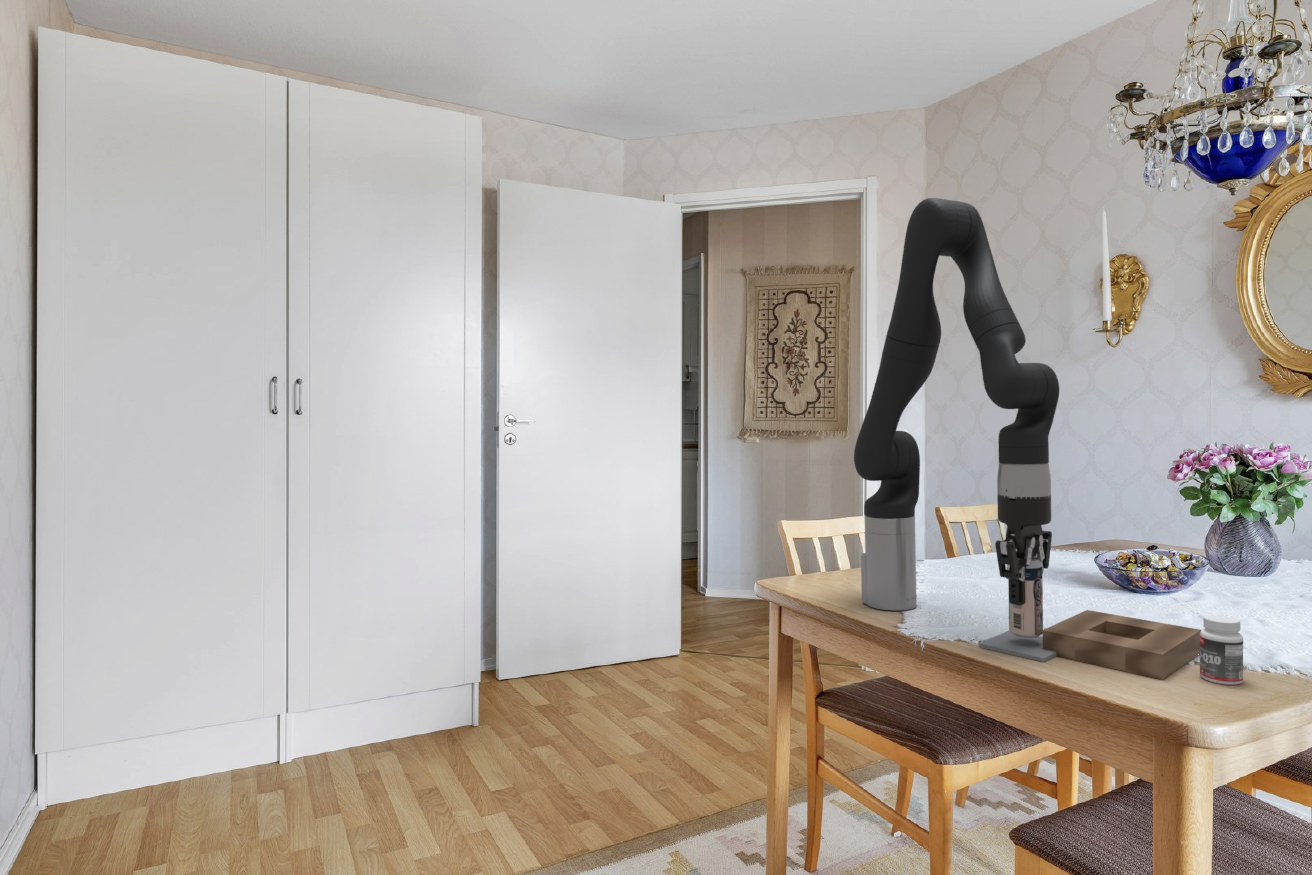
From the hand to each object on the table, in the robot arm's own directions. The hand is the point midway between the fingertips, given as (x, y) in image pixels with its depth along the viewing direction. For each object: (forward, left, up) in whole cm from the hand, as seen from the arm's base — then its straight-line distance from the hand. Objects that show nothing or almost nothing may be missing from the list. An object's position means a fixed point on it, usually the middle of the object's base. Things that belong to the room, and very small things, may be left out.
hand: (1025, 600), depth 120 cm
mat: (0, 0, -7) cm, 7 cm away
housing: (+11, +7, -7) cm, 15 cm away
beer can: (0, 0, -6) cm, 6 cm away
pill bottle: (+24, +5, -8) cm, 26 cm away
